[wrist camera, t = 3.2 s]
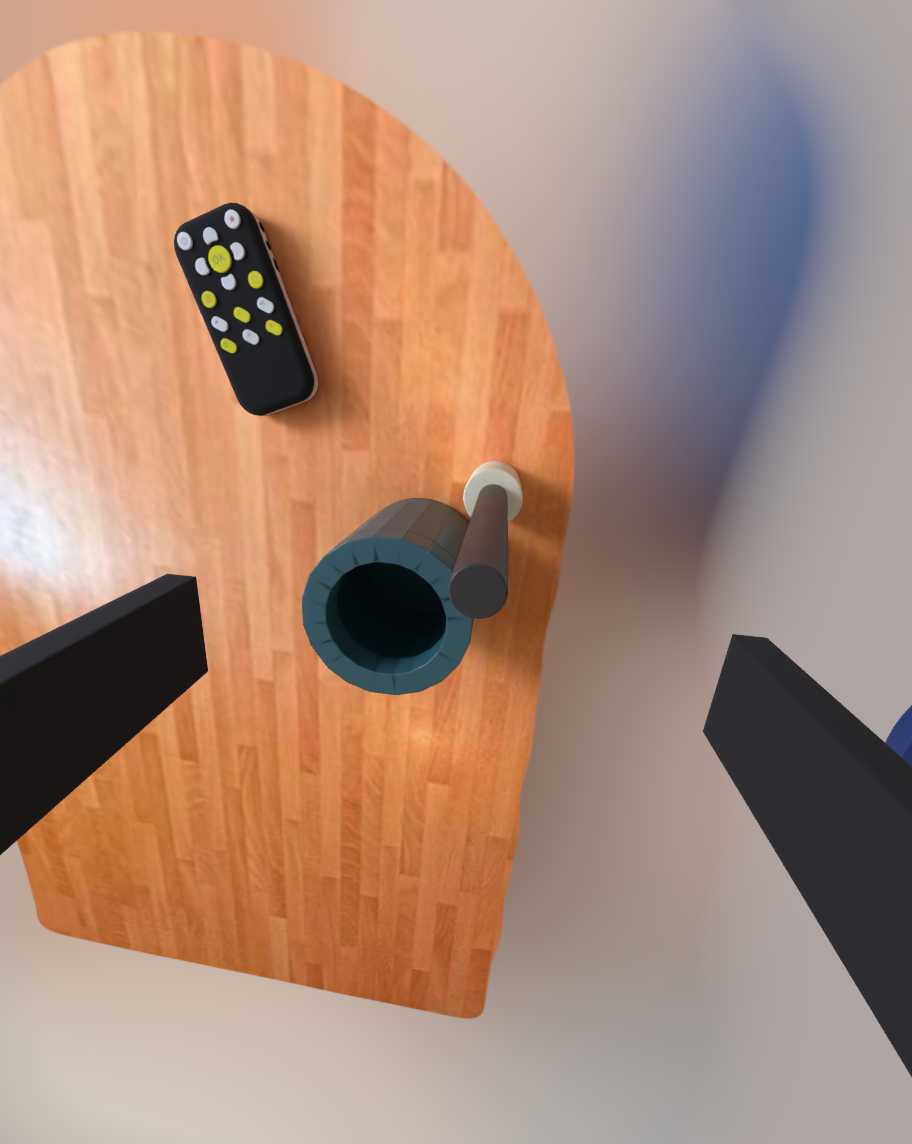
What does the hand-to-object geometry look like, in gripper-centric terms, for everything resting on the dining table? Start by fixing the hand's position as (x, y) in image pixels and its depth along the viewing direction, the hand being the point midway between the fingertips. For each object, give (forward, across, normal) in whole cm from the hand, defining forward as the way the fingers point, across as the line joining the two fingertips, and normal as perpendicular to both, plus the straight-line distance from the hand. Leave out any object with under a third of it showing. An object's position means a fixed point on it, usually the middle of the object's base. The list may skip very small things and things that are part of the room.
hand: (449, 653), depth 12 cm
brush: (+26, 0, 0) cm, 26 cm away
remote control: (+26, -18, +10) cm, 34 cm away
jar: (+26, -5, -6) cm, 27 cm away
